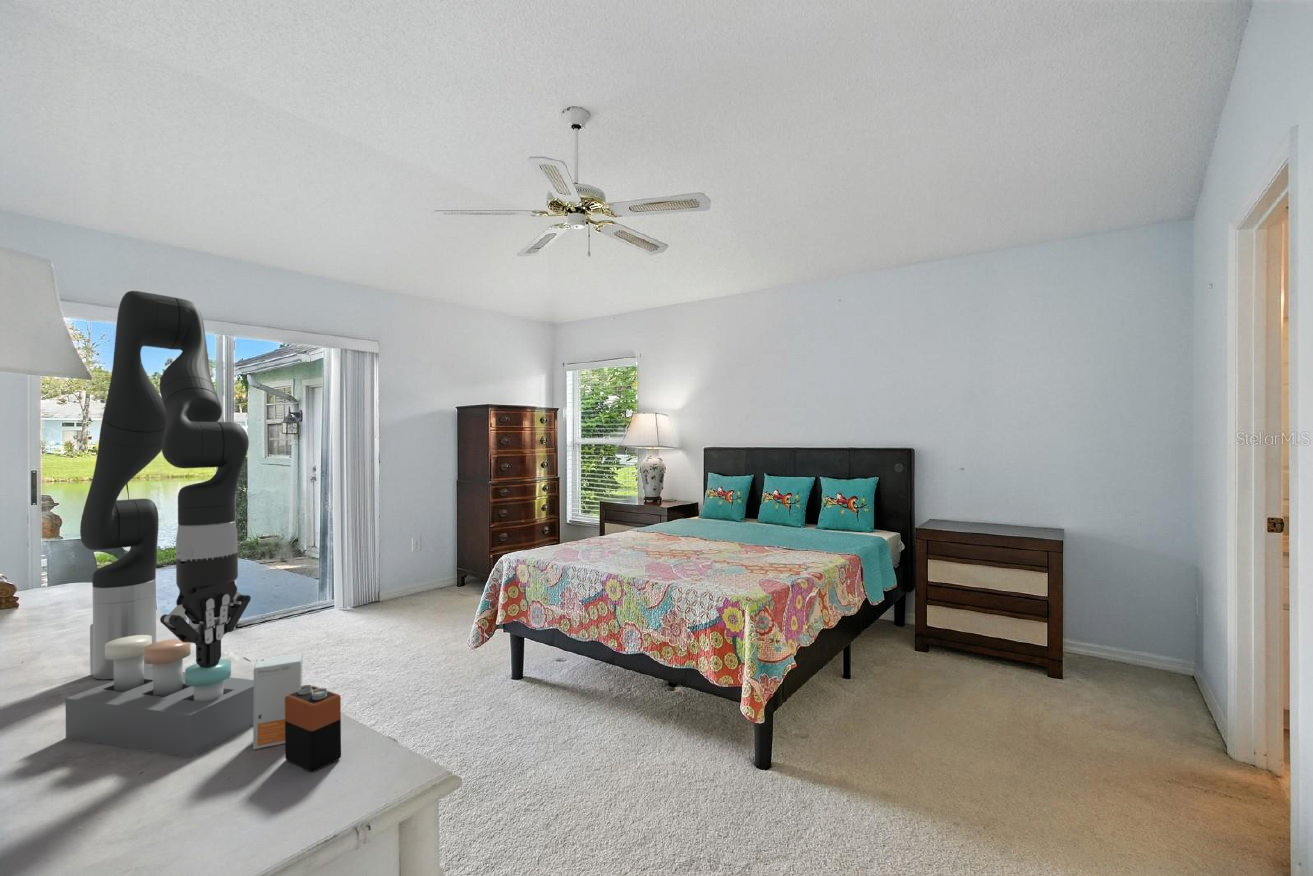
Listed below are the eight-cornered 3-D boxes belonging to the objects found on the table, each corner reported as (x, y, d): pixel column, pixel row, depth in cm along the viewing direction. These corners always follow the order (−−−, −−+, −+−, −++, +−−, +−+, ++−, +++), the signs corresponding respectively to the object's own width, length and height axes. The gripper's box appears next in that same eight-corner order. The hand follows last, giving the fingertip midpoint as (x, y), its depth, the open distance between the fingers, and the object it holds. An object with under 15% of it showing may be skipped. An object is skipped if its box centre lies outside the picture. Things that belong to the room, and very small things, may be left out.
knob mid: (134, 698, 91) (134, 649, 91) (172, 683, 97) (172, 637, 97) (163, 702, 90) (162, 652, 90) (199, 687, 95) (199, 640, 95)
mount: (65, 738, 90) (65, 698, 90) (150, 703, 102) (149, 668, 102) (190, 757, 85) (190, 715, 85) (264, 718, 96) (264, 681, 96)
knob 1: (95, 693, 93) (95, 645, 93) (134, 679, 99) (134, 633, 99) (123, 697, 92) (122, 648, 92) (161, 682, 97) (160, 636, 97)
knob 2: (175, 721, 89) (175, 671, 89) (211, 705, 95) (211, 657, 95) (205, 725, 88) (205, 674, 88) (240, 708, 94) (240, 660, 94)
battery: (311, 774, 80) (311, 699, 80) (283, 760, 84) (283, 689, 84) (342, 759, 84) (342, 687, 84) (314, 746, 88) (314, 678, 88)
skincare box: (252, 751, 86) (252, 668, 86) (256, 738, 90) (255, 658, 90) (301, 741, 89) (301, 660, 89) (303, 729, 93) (302, 651, 93)
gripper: (228, 544, 99) (229, 649, 99) (142, 560, 86) (143, 680, 86) (265, 545, 97) (266, 652, 97) (183, 562, 84) (184, 685, 84)
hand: (208, 665), depth 91 cm, fingers closed
